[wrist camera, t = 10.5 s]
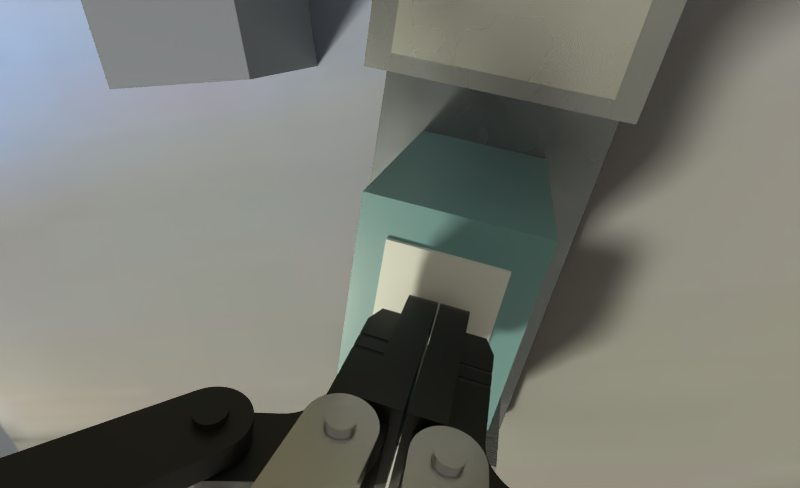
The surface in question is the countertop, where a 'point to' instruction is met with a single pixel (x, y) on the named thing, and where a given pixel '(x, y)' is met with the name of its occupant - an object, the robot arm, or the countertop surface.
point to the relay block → (199, 39)
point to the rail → (510, 134)
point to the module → (455, 241)
